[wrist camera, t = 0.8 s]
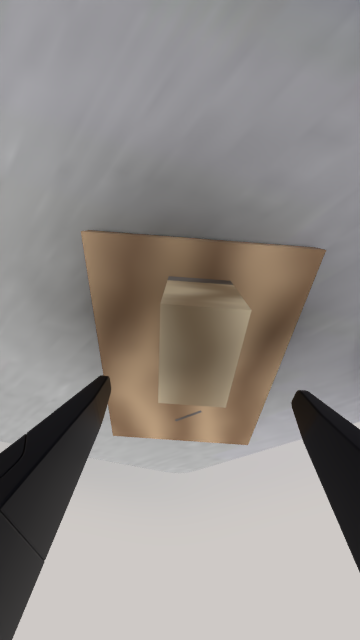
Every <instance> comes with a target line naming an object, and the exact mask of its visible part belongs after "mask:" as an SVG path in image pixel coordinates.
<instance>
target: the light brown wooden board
mask: <svg viewBox="0 0 360 640" xmlns="http://www.w3.org/2000/svg"><path fill="white" fill-rule="evenodd" d="M81 235H82V242H83V248H84V254H85V261H86V267H87V273H88V280H89V286H90V293H91V299H92V305H93V312H94V318H95V324H96V331H97V337H98V343H99V350H100V356H101V362H102V369H103V375H104V376H109V377H110V382H111V394H110V398H109V401H108V407H109V413H110V420H111V426H112V432H113V436H125V437H140V438H154V439H169V440H183V441H198V442H212V443H226V444H241V445H248V443H249V441H250V438H251V436H252V433H253V431H254V428H255V426H256V423H257V421H258V418H259V416H260V413H261V411H262V408H263V406H264V403H265V401H266V398H267V396H268V393H269V391H270V388H271V386H272V384H273V381H274V379H275V376H276V374H277V371H278V369H279V366H280V364H281V361H282V359H283V356H284V354H285V351H286V349H287V346H288V344H289V341H290V339H291V336H292V334H293V331H294V329H295V326H296V324H297V321H298V319H299V316H300V314H301V311H302V309H303V306H304V304H305V301H306V299H307V296H308V294H309V291H310V289H311V286H312V284H313V281H314V279H315V276H316V274H317V271H318V269H319V266H320V264H321V261H322V259H323V257H324V254H325V252H326V250H324V249H320V248H315V247H302V246H288V245H275V244H262V243H249V242H236V241H223V240H210V239H197V238H184V237H170V236H157V235H144V234H131V233H118V232H105V231H92V230H87V231H81ZM169 276H173V277H187V278H200V279H213V280H227V281H231V282H232V284H233V285H234V286H235V288H236V289H237V291H238V292H239V293H240V295H241V296H242V298H243V299H244V300H245V302H246V303H247V305H248V306H249V307H250V309H251V310H252V311H251V314H250V318H249V322H248V326H247V329H246V333H245V337H244V341H243V344H242V348H241V352H240V356H239V359H238V363H237V367H236V371H235V374H234V378H233V382H232V386H231V389H230V393H229V397H228V401H227V404H226V408H223V407H209V406H195V405H180V404H166V403H158V388H159V343H160V303H161V300H162V297H163V293H164V290H165V287H166V283H167V280H168V277H169Z"/></svg>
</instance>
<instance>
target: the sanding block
mask: <svg viewBox="0 0 360 640" xmlns="http://www.w3.org/2000/svg"><path fill="white" fill-rule="evenodd" d="M251 311H252V310H251V309H250V307H249V306H248V305H247V303H246V302H245V300H244V299H243V298H242V296H241V295H240V293H239V292H238V291H237V289H236V288H235V286H234V285H233V284H232V282H231V281H227V280H213V279H200V278H187V277H173V276H169V277H168V280H167V283H166V287H165V290H164V293H163V297H162V300H161V303H160V343H159V388H158V403H166V404H180V405H195V406H209V407H223V408H226V404H227V401H228V397H229V393H230V389H231V386H232V382H233V378H234V374H235V371H236V367H237V363H238V359H239V356H240V352H241V348H242V344H243V341H244V337H245V333H246V329H247V326H248V322H249V318H250V314H251Z"/></svg>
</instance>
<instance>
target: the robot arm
mask: <svg viewBox="0 0 360 640" xmlns="http://www.w3.org/2000/svg"><path fill="white" fill-rule="evenodd" d="M110 394H111V382H110V377H109V376H99V377H98V378H97V379H95V380H94V381H93V382H91V383H90V384H89V385H88V386H86V387H85V388H84V389H82V390H81V391H80V392H79V393H77V394H76V395H75V396H74V397H72V398H71V399H70V400H68V401H67V402H66V403H65V404H63V405H62V406H61V407H59V408H58V409H57V410H56V411H54V412H53V413H52V414H50V415H49V416H48V417H47V418H45V419H44V420H43V421H41V422H40V423H39V424H38V425H36V426H35V427H34V428H33V429H31V430H30V431H29V432H27V434H25V435H23V436H22V437H21V438H20V439H18V440H17V441H16V442H14V443H13V444H12V445H10V446H9V447H8V448H7V449H5V450H4V451H3V452H1V453H0V640H12V638H13V636H14V634H15V631H16V629H17V626H18V624H19V622H20V619H21V617H22V614H23V612H24V610H25V607H26V605H27V602H28V600H29V598H30V595H31V593H32V590H33V588H34V586H35V583H36V581H37V578H38V576H39V574H40V571H41V569H42V566H43V564H44V560H45V559H46V557H47V554H48V552H49V549H50V547H51V545H52V542H53V540H54V537H55V535H56V533H57V530H58V528H59V525H60V523H61V521H62V518H63V516H64V513H65V511H66V508H67V506H68V504H69V501H70V499H71V497H72V494H73V491H74V489H75V487H76V485H77V482H78V480H79V477H80V475H81V472H82V470H83V468H84V465H85V463H86V461H87V458H88V456H89V453H90V451H91V449H92V446H93V444H94V441H95V439H96V437H97V434H98V432H99V429H100V427H101V424H102V421H103V418H104V414H105V411H106V408H107V404H108V401H109V398H110ZM292 409H293V412H294V415H295V418H296V421H297V424H298V427H299V430H300V434H301V436H302V439H303V442H304V444H305V446H306V449H307V451H308V454H309V456H310V458H311V460H312V463H313V465H314V467H315V469H316V472H317V474H318V477H319V479H320V481H321V484H322V486H323V488H324V490H325V493H326V495H327V497H328V500H329V502H330V505H331V507H332V509H333V511H334V514H335V516H336V518H337V521H338V523H339V525H340V528H341V530H342V532H343V535H344V537H345V539H346V542H347V544H348V546H349V549H350V551H351V553H352V555H353V558H354V560H355V562H356V564H357V567H358V569H359V572H360V429H358V428H357V427H356V426H354V425H353V424H352V423H350V422H349V421H348V420H346V419H345V418H344V417H342V416H341V415H339V414H338V413H337V412H335V411H334V410H333V409H331V408H330V407H329V406H327V405H326V404H325V403H323V402H322V401H321V400H319V399H318V398H317V397H315V396H314V395H312V394H311V393H310V392H308V391H305V390H298V391H297V392H296V394H295V396H294V398H293V400H292Z"/></svg>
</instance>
